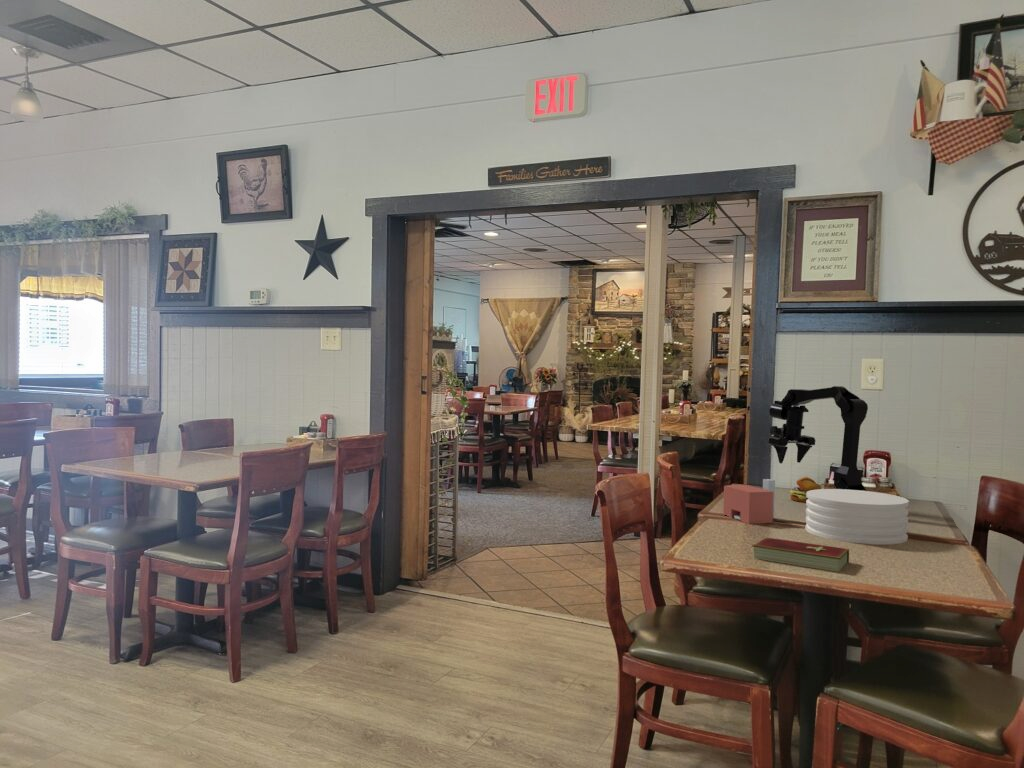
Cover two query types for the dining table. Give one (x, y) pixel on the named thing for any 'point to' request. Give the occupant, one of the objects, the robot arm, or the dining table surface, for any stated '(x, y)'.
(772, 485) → the light blue l-shaped piece
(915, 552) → the dining table surface
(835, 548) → the hardcover book
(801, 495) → the cheeseburger
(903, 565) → the dining table surface
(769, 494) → the block
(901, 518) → the plate stack
